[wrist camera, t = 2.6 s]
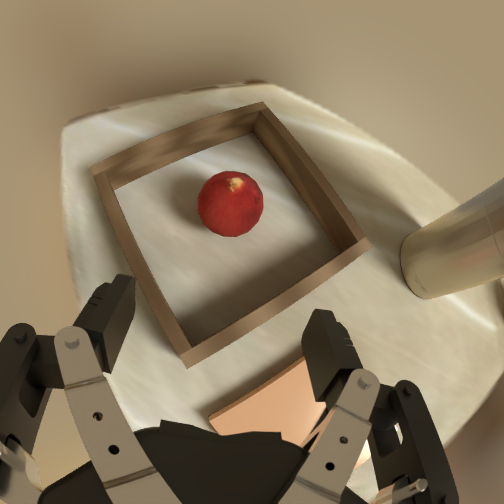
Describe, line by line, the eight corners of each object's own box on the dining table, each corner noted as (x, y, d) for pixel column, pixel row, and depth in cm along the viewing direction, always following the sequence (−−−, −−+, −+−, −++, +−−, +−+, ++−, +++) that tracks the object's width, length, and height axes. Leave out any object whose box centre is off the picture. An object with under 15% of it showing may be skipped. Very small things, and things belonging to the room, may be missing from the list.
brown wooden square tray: (255, 123, 33) (262, 101, 29) (352, 257, 29) (372, 246, 26) (100, 187, 26) (90, 167, 22) (188, 363, 23) (187, 368, 19)
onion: (224, 185, 29) (235, 137, 21) (265, 220, 29) (289, 180, 21) (185, 221, 27) (183, 178, 19) (228, 259, 27) (241, 228, 19)
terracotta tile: (334, 332, 26) (341, 331, 25) (390, 427, 24) (397, 430, 23) (208, 416, 22) (209, 421, 20) (287, 506, 19) (291, 513, 18)
